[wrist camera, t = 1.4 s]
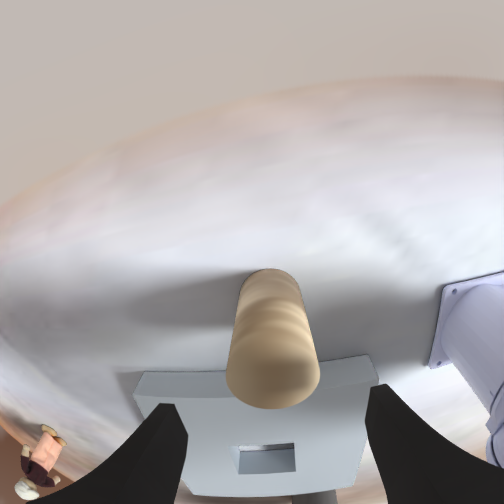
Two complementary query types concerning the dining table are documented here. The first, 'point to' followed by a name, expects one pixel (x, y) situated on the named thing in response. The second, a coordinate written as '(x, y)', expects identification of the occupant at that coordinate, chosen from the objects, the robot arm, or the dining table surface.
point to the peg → (271, 344)
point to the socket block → (267, 431)
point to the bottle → (316, 498)
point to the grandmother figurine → (39, 464)
